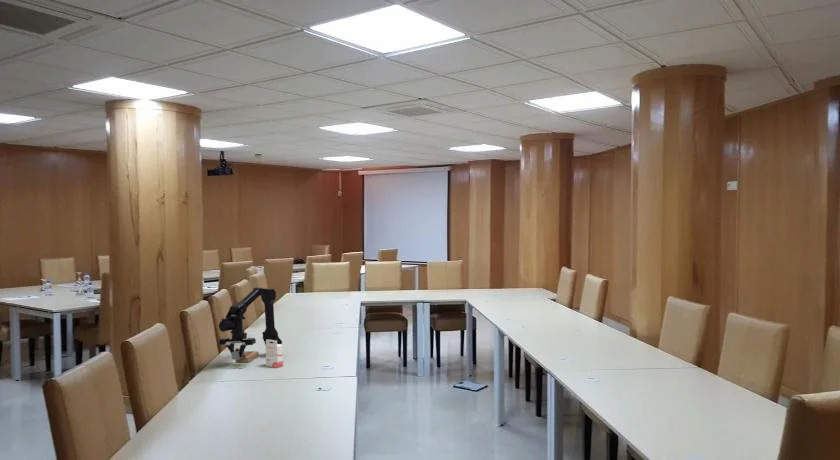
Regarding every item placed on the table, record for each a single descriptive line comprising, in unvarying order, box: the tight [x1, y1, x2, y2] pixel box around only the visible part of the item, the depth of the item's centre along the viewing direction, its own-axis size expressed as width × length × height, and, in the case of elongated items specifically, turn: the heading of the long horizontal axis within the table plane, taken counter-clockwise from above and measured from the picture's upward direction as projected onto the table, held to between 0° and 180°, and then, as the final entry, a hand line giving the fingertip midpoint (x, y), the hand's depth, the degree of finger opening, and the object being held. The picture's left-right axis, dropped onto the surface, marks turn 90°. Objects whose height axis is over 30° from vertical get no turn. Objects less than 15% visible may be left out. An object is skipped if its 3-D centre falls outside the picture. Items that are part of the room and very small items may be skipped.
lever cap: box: [231, 347, 243, 361], centre depth 310 cm, size 4×6×5 cm, turn 175°
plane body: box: [235, 350, 260, 364], centre depth 324 cm, size 7×16×6 cm, turn 175°
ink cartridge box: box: [265, 339, 284, 369], centre depth 310 cm, size 9×5×15 cm, turn 62°
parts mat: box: [225, 362, 250, 370], centre depth 310 cm, size 9×9×1 cm
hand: (237, 357), depth 310 cm, fingers closed on lever cap, 4 cm apart
